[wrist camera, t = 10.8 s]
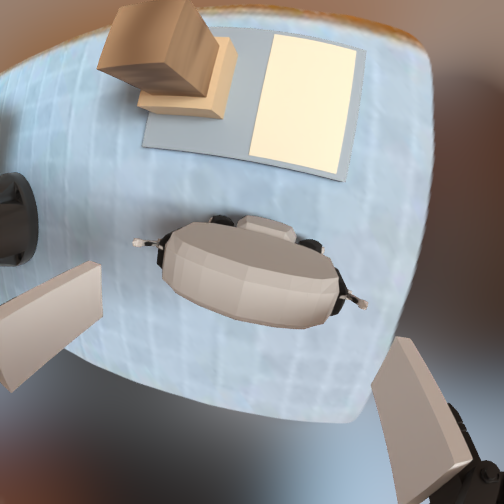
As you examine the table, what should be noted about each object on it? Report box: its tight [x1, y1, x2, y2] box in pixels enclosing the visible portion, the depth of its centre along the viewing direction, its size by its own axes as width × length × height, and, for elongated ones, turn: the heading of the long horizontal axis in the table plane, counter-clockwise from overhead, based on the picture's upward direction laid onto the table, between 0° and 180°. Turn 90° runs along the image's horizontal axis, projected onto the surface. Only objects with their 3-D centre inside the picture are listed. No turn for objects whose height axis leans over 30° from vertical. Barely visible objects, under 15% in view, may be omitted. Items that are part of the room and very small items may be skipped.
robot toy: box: [132, 215, 368, 329], centre depth 20 cm, size 12×4×15 cm, turn 76°
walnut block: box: [97, 0, 220, 97], centre depth 15 cm, size 5×5×8 cm
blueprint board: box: [137, 27, 366, 182], centre depth 21 cm, size 20×14×5 cm
